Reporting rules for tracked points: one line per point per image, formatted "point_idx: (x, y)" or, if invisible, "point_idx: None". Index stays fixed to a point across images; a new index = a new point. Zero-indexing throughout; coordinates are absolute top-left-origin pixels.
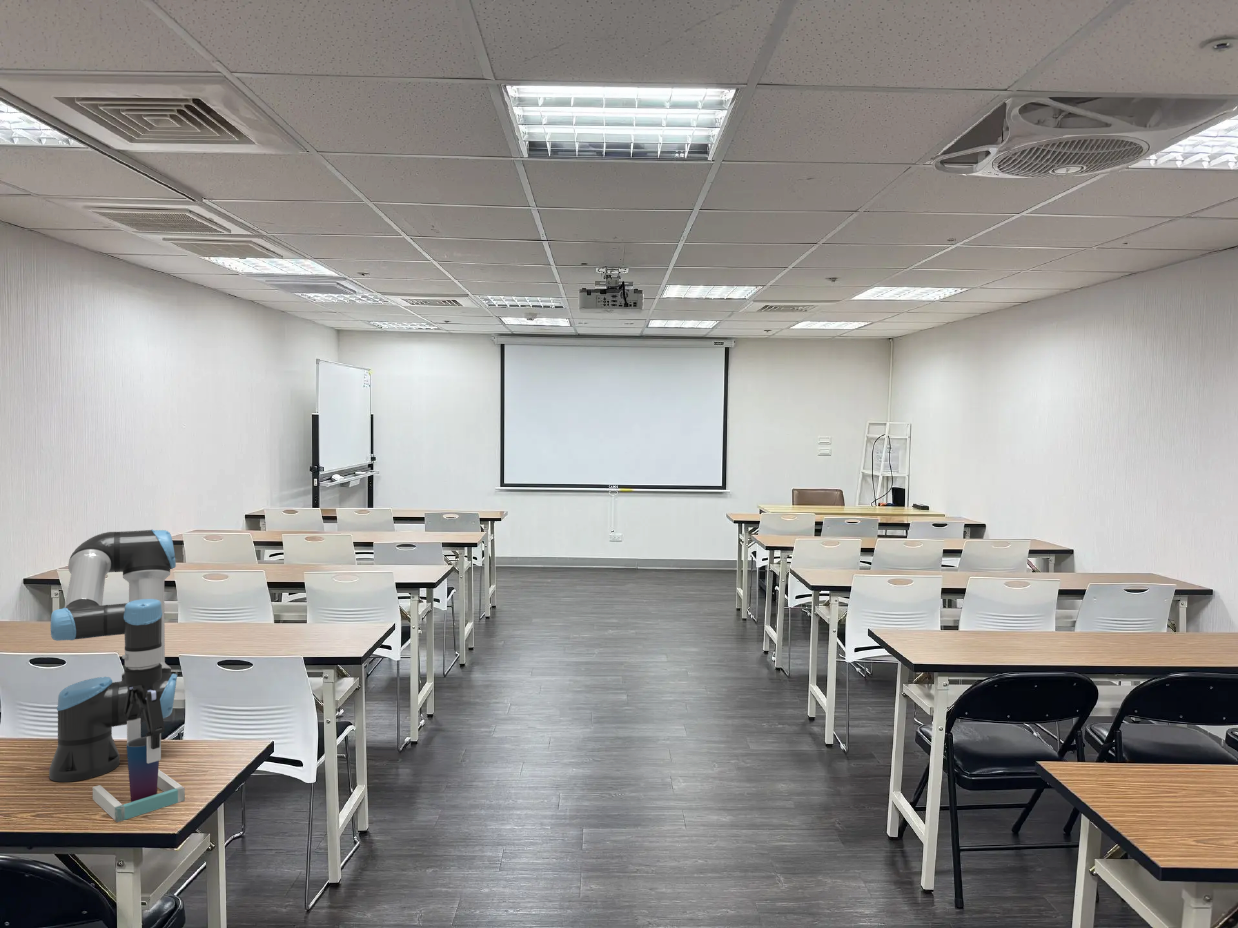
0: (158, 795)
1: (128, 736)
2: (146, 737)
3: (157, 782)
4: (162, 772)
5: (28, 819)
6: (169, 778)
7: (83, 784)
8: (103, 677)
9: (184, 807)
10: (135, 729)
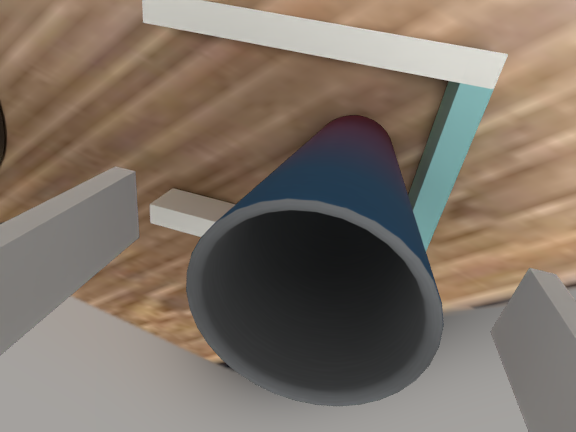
0: (452, 168)
1: (86, 278)
2: (214, 242)
3: (374, 134)
4: (210, 4)
5: (178, 322)
6: (313, 28)
7: (40, 157)
8: None
9: (557, 96)
10: (44, 264)
